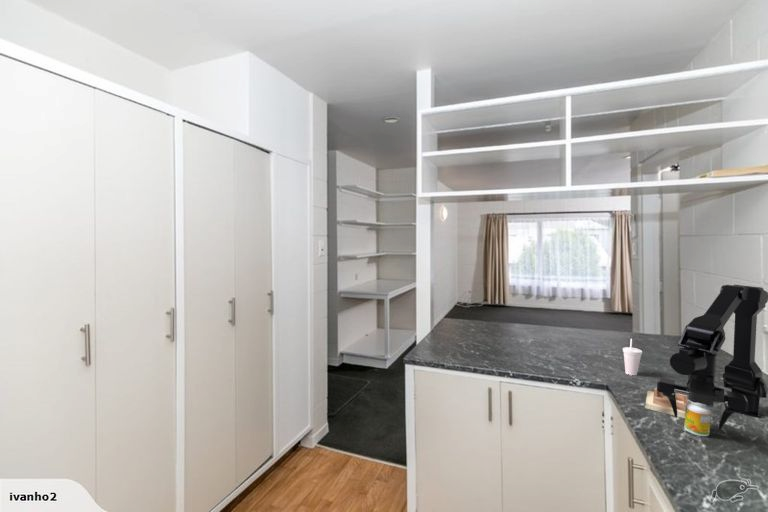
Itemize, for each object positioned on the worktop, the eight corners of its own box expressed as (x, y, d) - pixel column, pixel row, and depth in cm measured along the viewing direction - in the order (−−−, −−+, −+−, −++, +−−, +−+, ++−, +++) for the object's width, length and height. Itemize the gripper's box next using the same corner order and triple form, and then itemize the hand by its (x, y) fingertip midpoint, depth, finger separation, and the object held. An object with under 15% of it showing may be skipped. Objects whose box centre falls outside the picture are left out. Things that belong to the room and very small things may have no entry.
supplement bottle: (679, 425, 103) (681, 393, 103) (698, 426, 103) (700, 393, 103) (694, 436, 98) (697, 402, 97) (714, 437, 98) (717, 402, 97)
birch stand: (693, 405, 115) (694, 395, 115) (695, 421, 106) (696, 409, 106) (647, 394, 123) (648, 384, 123) (645, 408, 114) (646, 397, 113)
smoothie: (622, 369, 145) (624, 335, 144) (641, 373, 141) (643, 338, 140) (620, 374, 140) (622, 339, 139) (640, 378, 136) (642, 342, 135)
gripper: (658, 368, 99) (654, 423, 100) (754, 387, 87) (749, 449, 88) (659, 357, 108) (655, 407, 109) (747, 373, 96) (742, 429, 97)
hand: (697, 422), depth 101 cm, fingers open, 9 cm apart
